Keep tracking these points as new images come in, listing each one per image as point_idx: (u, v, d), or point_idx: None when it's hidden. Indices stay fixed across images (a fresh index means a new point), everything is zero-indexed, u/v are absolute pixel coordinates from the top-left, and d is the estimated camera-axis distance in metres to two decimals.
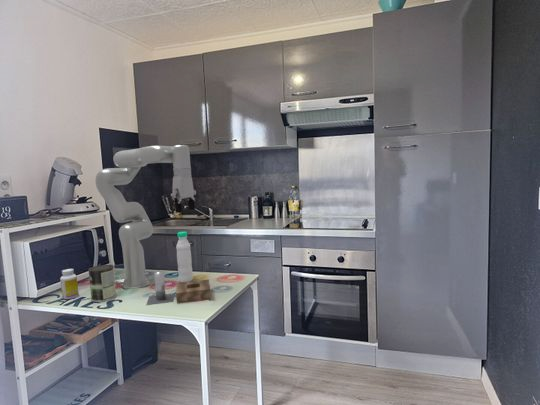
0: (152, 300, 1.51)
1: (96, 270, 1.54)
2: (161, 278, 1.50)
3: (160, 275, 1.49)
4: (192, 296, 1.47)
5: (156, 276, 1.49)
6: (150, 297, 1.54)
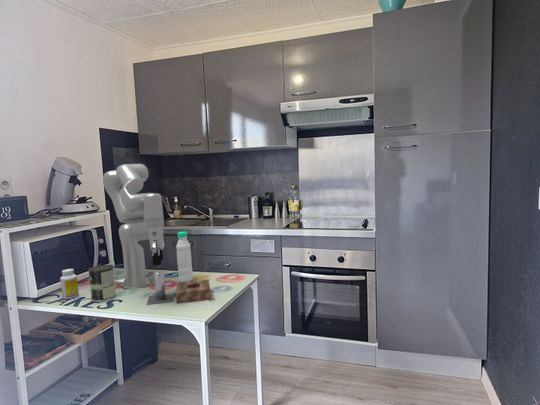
0: (152, 300, 1.51)
1: (96, 270, 1.54)
2: (161, 278, 1.50)
3: (160, 275, 1.49)
4: (192, 296, 1.47)
5: (156, 276, 1.49)
6: (150, 297, 1.54)
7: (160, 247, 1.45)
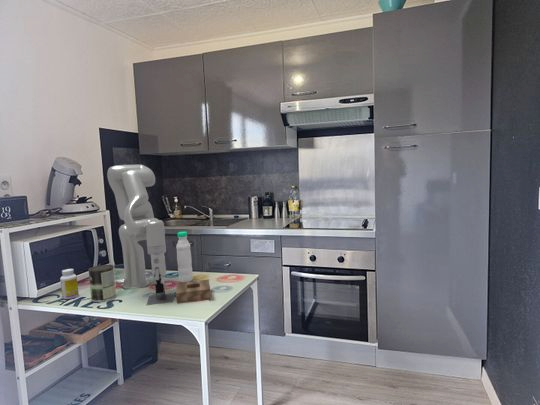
0: (152, 300, 1.51)
1: (96, 270, 1.54)
2: None
3: (160, 275, 1.49)
4: (192, 296, 1.47)
5: None
6: (150, 297, 1.54)
7: (162, 274, 1.46)
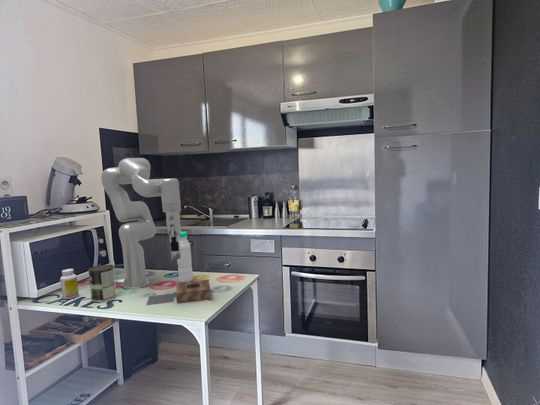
0: (152, 300, 1.51)
1: (96, 270, 1.54)
2: None
3: None
4: (192, 296, 1.47)
5: None
6: (150, 297, 1.54)
7: (177, 231, 1.46)
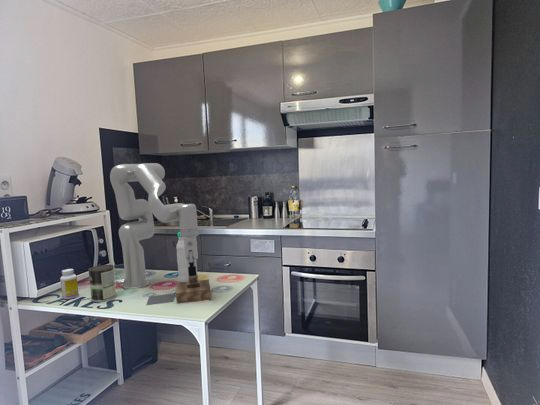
0: (152, 300, 1.51)
1: (96, 270, 1.54)
2: None
3: None
4: (192, 296, 1.47)
5: (189, 259, 1.50)
6: (150, 297, 1.54)
7: (195, 257, 1.48)
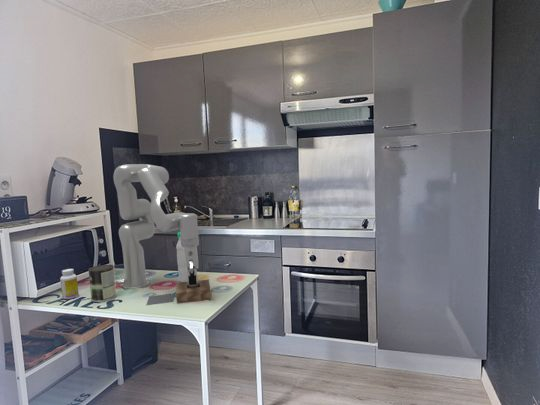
0: (152, 300, 1.51)
1: (96, 270, 1.54)
2: None
3: None
4: (192, 296, 1.47)
5: None
6: (150, 297, 1.54)
7: (196, 267, 1.48)
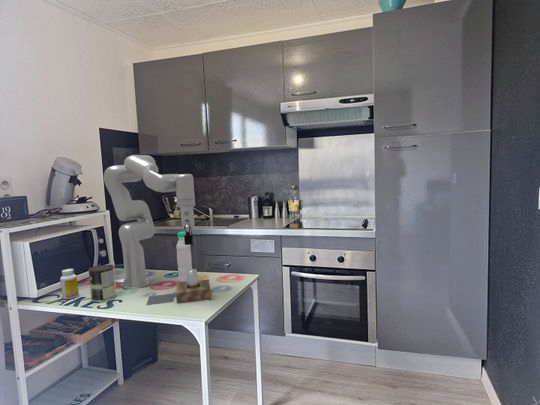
0: (152, 300, 1.51)
1: (96, 270, 1.54)
2: (195, 276, 1.52)
3: (193, 274, 1.51)
4: (192, 296, 1.47)
5: (190, 274, 1.51)
6: (150, 297, 1.54)
7: (192, 227, 1.47)
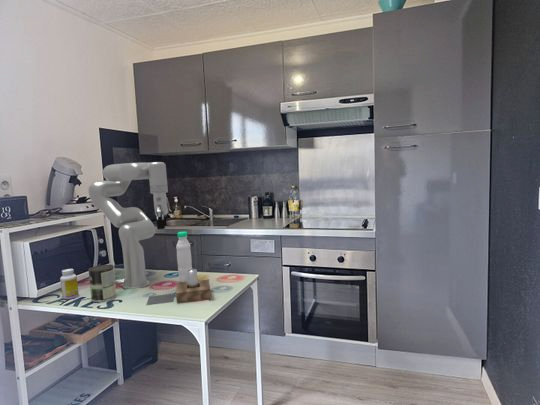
0: (152, 300, 1.51)
1: (96, 270, 1.54)
2: (195, 276, 1.52)
3: (193, 274, 1.51)
4: (192, 296, 1.47)
5: (190, 274, 1.51)
6: (150, 297, 1.54)
7: (164, 212, 1.54)
